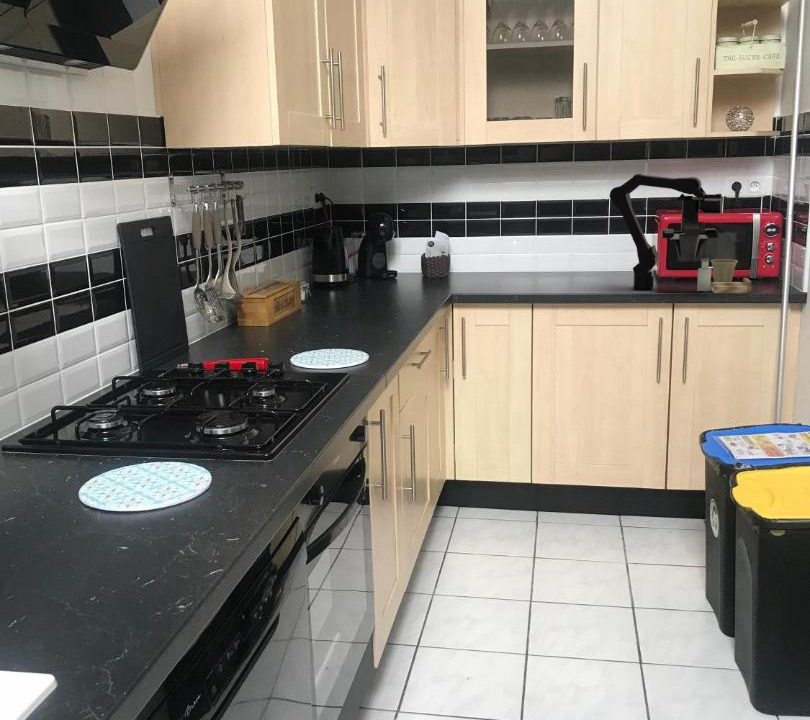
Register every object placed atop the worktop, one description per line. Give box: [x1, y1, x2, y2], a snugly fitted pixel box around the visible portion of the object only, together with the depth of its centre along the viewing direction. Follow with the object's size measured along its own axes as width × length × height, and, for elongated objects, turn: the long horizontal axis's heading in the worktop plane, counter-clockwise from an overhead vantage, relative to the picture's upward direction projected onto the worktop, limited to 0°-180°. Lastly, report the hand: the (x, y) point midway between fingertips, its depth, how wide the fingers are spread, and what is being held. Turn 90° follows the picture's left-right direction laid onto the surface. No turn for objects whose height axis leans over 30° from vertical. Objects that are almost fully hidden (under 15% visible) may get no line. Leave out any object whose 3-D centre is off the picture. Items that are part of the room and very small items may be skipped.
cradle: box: [710, 277, 752, 294], centre depth 298 cm, size 12×9×4 cm
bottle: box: [696, 258, 712, 293], centre depth 299 cm, size 4×4×12 cm
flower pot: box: [710, 258, 738, 282], centre depth 313 cm, size 9×9×9 cm
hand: (687, 257), depth 298 cm, fingers open, 5 cm apart
